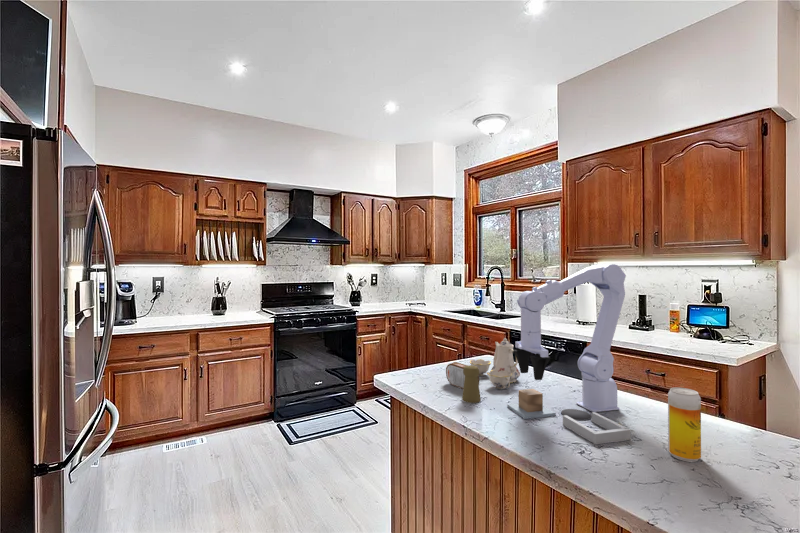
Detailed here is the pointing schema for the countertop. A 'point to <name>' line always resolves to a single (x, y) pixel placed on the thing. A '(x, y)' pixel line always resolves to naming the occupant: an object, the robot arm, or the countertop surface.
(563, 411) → the hole mat
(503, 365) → the chinaware
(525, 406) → the walnut cube
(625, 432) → the grey flat u-shaped piece
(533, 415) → the board
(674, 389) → the beer can
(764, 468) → the countertop surface
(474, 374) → the olive waisted block
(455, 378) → the tin
